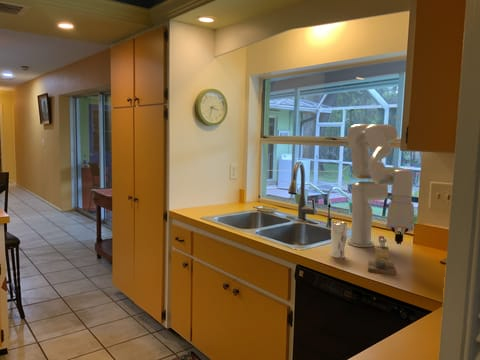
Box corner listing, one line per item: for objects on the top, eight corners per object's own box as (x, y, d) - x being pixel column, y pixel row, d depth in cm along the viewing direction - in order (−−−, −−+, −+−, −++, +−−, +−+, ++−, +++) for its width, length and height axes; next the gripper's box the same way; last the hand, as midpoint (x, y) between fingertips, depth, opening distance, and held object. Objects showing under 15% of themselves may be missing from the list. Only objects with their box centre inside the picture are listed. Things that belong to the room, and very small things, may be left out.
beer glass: (334, 252, 179) (335, 220, 178) (348, 255, 175) (350, 223, 173) (327, 256, 174) (328, 223, 172) (341, 259, 170) (343, 225, 168)
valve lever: (386, 248, 155) (386, 240, 154) (379, 248, 155) (379, 240, 155) (384, 242, 164) (384, 234, 164) (377, 241, 165) (378, 234, 164)
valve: (368, 264, 164) (369, 243, 163) (393, 267, 160) (395, 245, 160) (367, 271, 154) (369, 249, 153) (395, 275, 151) (396, 252, 150)
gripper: (382, 199, 158) (379, 243, 159) (422, 202, 153) (419, 247, 155) (381, 197, 165) (379, 239, 166) (420, 199, 160) (417, 242, 162)
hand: (398, 243), depth 161 cm, fingers closed
